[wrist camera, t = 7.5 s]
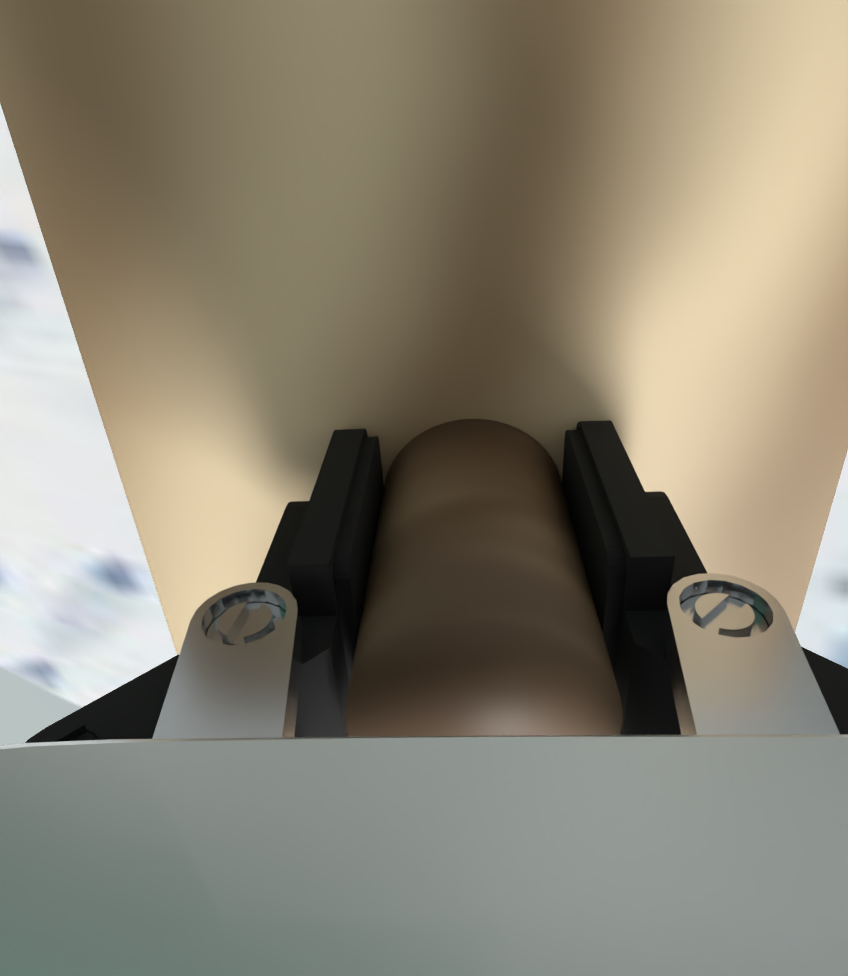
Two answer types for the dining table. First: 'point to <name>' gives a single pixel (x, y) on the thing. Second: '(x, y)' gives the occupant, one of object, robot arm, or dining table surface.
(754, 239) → the lid
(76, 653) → the dining table surface
